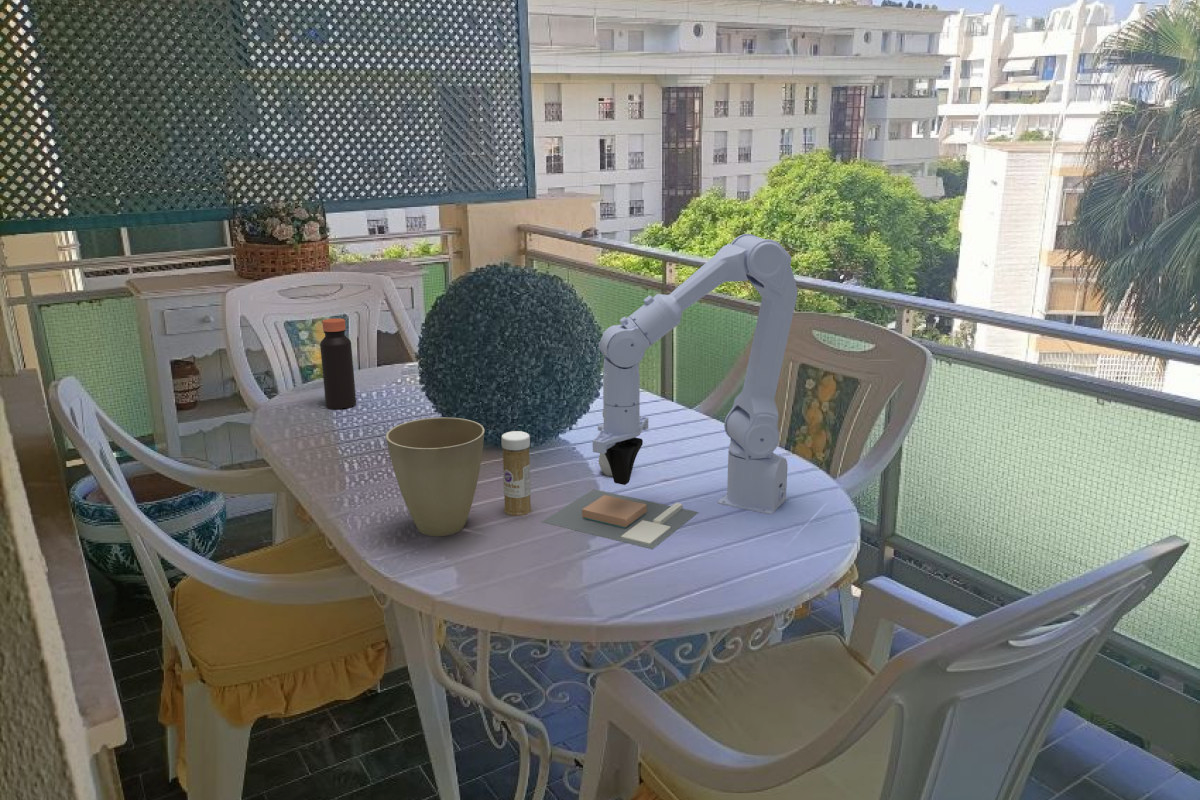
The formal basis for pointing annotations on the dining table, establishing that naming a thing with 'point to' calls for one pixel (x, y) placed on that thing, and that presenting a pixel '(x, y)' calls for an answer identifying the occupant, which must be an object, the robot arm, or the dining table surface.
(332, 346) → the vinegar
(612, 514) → the tile
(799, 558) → the dining table surface
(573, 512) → the mat
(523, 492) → the sprinkles bottle
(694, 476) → the dining table surface
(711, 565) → the dining table surface
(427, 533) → the plant pot
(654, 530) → the turner
